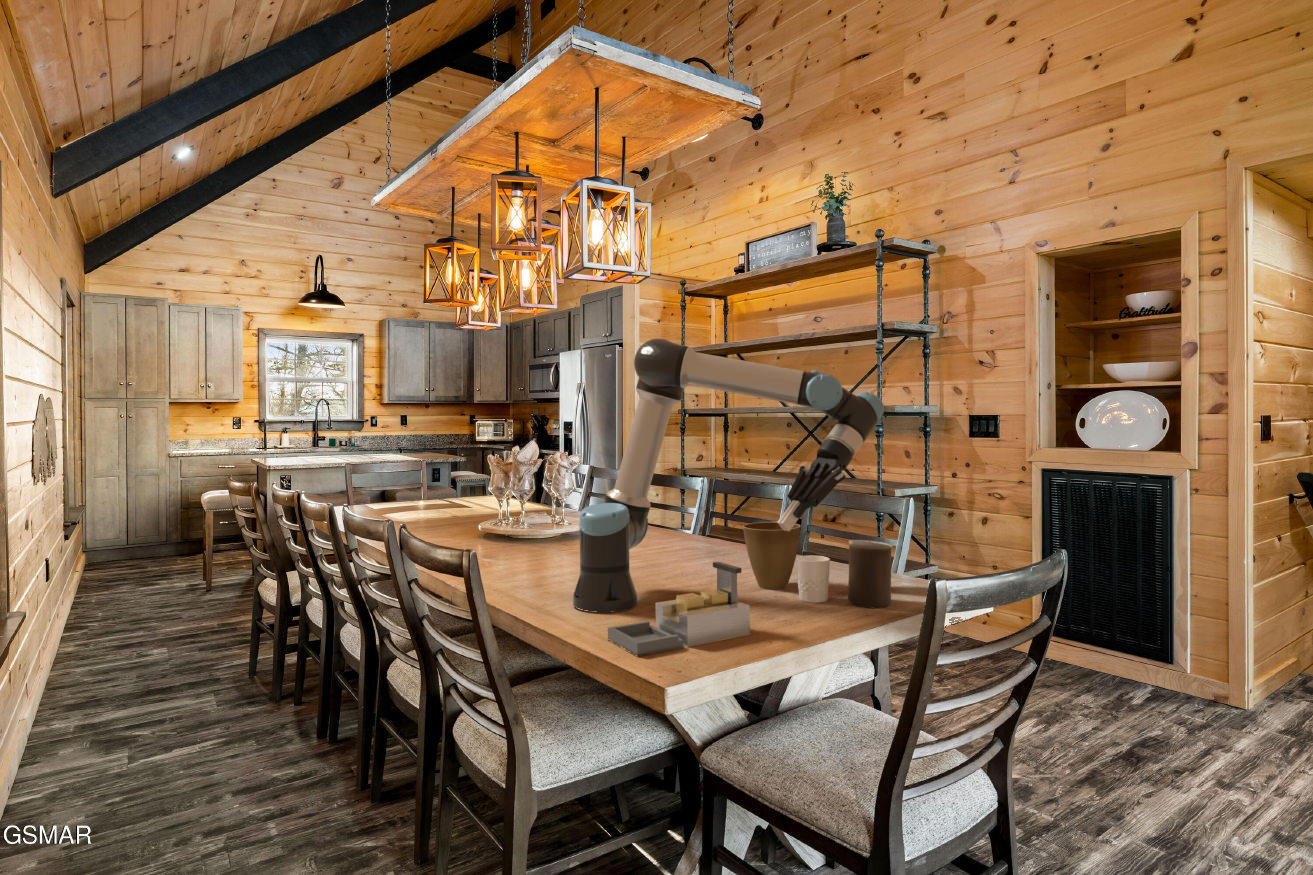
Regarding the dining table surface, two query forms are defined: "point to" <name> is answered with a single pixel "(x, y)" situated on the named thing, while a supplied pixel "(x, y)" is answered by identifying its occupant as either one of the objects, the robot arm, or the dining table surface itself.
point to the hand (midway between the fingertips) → (783, 526)
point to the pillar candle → (869, 574)
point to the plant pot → (771, 552)
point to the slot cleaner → (727, 580)
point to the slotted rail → (704, 622)
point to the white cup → (813, 578)
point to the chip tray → (643, 638)
